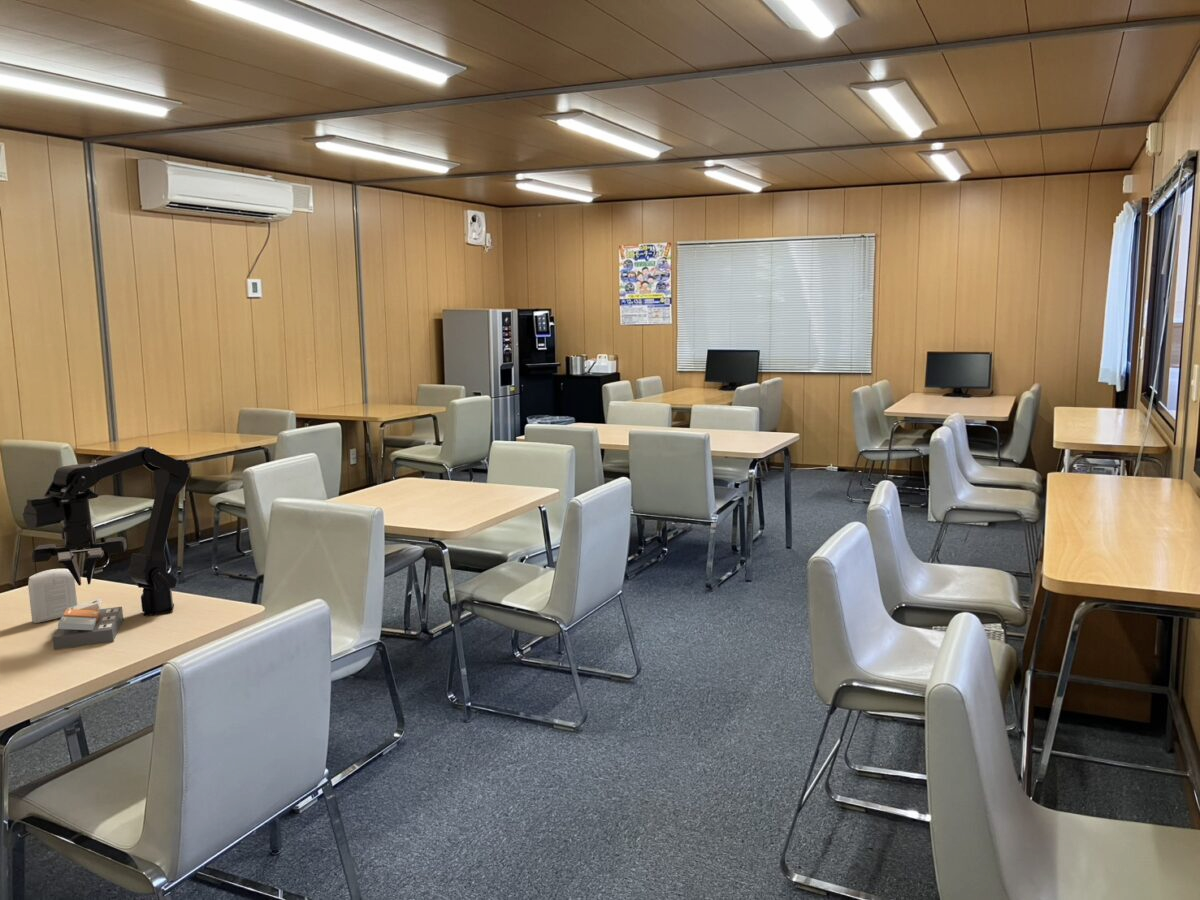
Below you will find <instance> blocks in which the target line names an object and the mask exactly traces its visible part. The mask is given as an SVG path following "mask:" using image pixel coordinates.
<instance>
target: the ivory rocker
mask: <svg viewBox="0 0 1200 900" xmlns="http://www.w3.org/2000/svg"><path fill="white" fill-rule="evenodd" d="M102 606H103V601H102V598H100V597H99V598H96V599H93V600H90V601H86V602H83V603H80V604H78V605H76V606H73V607H70V608H69V609H77V610H98V609H101V607H102Z"/></svg>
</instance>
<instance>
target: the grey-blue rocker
mask: <svg viewBox="0 0 1200 900" xmlns="http://www.w3.org/2000/svg"><path fill="white" fill-rule="evenodd" d="M59 619H60V620H59V621H58V623H57V624H58V625H57V629H73V630H93V628H94V626H95V624H96V618H79V617H61V618H59Z"/></svg>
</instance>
